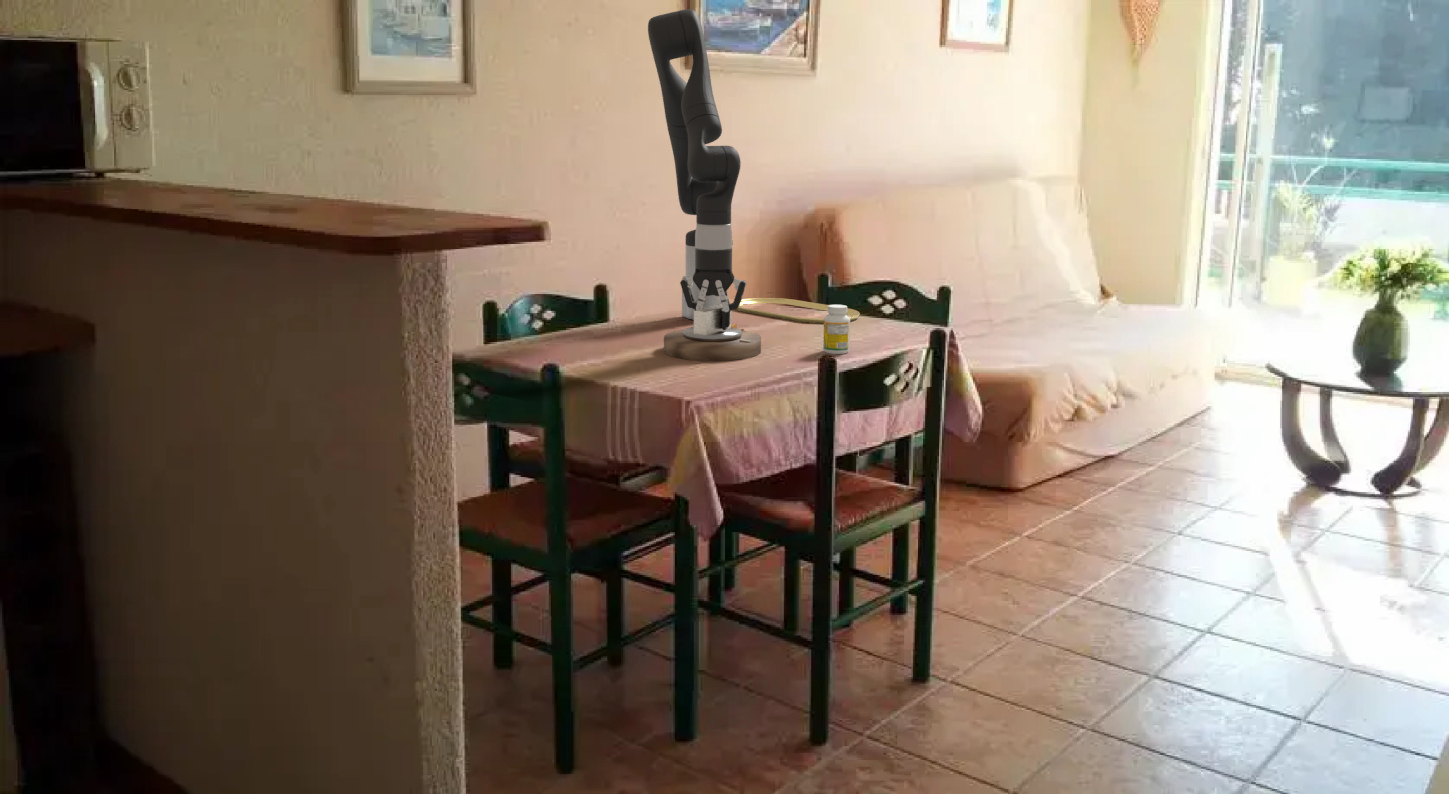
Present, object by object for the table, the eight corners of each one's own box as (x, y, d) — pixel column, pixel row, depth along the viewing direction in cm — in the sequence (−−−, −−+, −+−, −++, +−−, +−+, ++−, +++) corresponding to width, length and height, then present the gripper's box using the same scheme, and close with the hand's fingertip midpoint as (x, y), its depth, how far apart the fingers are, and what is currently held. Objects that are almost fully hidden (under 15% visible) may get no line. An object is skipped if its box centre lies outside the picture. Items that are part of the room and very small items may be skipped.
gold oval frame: (769, 301, 332) (769, 295, 331) (875, 319, 307) (875, 312, 307) (716, 309, 319) (717, 303, 318) (823, 328, 295) (823, 321, 294)
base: (644, 352, 264) (643, 336, 264) (704, 338, 280) (704, 323, 279) (720, 365, 252) (720, 348, 252) (779, 349, 268) (780, 334, 267)
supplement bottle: (844, 355, 263) (845, 308, 261) (819, 353, 265) (820, 306, 263) (852, 350, 268) (854, 305, 266) (828, 348, 270) (829, 303, 268)
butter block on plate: (723, 343, 257) (723, 314, 256) (672, 337, 263) (672, 309, 262) (758, 332, 270) (758, 304, 268) (709, 326, 276) (709, 299, 274)
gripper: (675, 247, 258) (676, 331, 263) (746, 249, 257) (745, 333, 261) (682, 242, 266) (682, 324, 270) (750, 244, 264) (749, 326, 268)
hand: (713, 328), depth 265 cm, fingers closed on butter block on plate, 4 cm apart
